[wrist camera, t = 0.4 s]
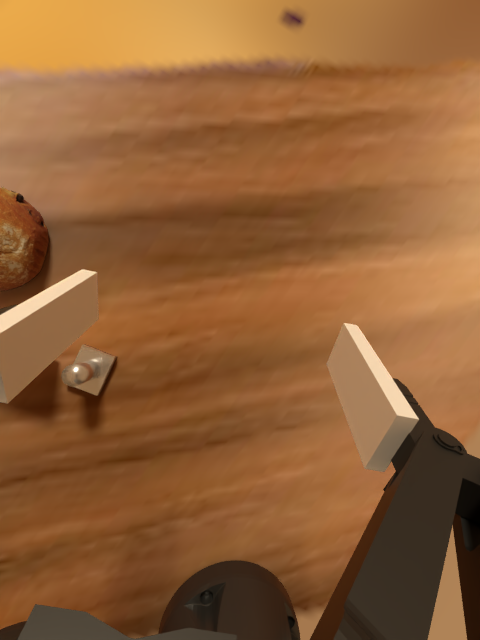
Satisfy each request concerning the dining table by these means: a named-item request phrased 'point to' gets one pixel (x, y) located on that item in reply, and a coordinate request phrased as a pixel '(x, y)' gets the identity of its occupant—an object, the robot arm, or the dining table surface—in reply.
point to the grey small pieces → (89, 370)
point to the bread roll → (20, 240)
